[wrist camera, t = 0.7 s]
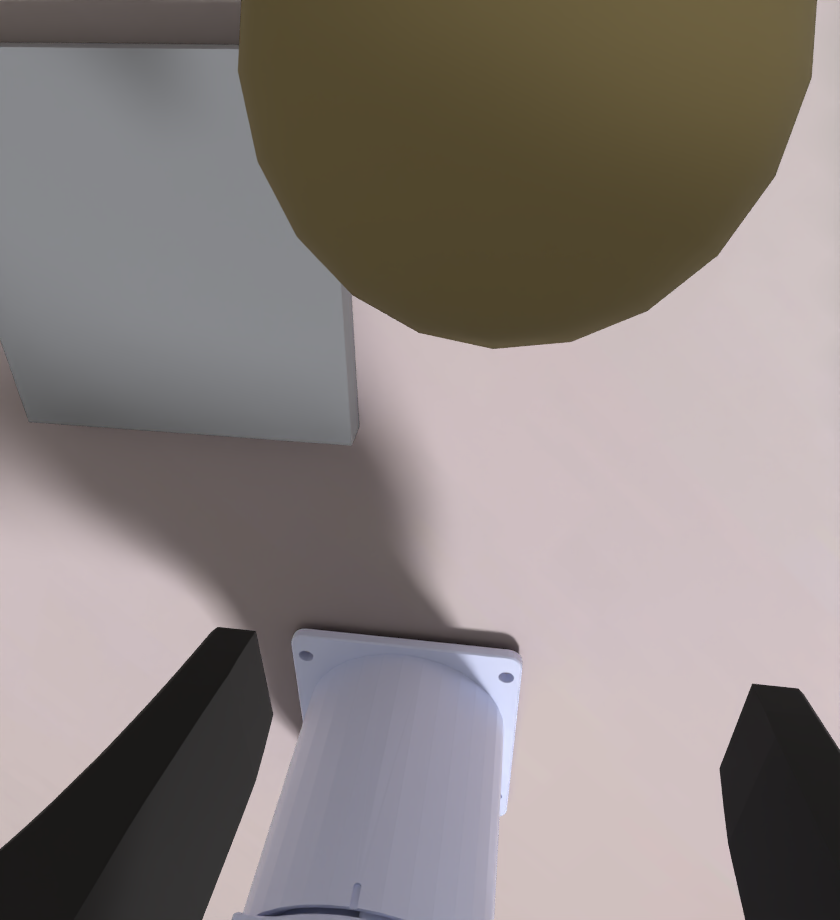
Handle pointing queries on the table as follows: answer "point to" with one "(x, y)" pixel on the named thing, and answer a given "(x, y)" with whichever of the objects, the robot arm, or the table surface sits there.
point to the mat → (158, 253)
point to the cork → (520, 148)
